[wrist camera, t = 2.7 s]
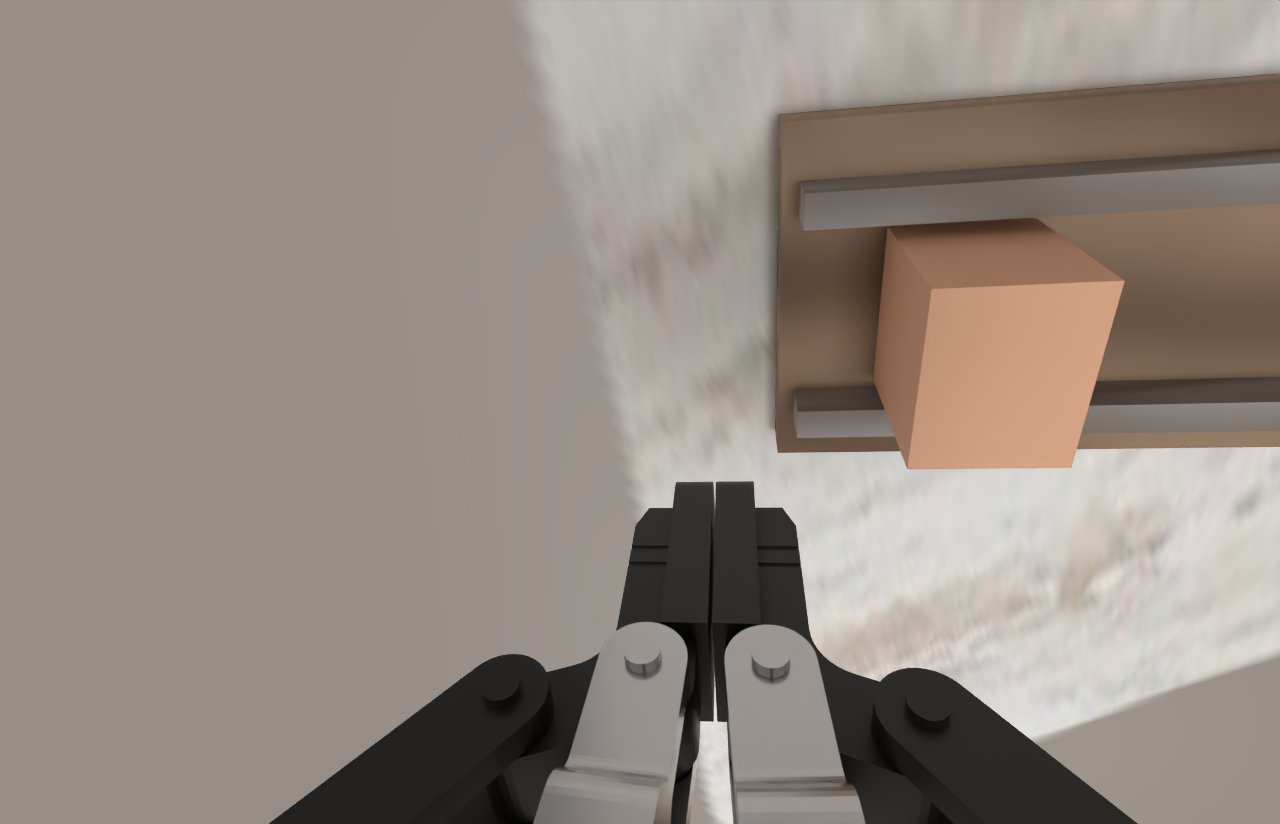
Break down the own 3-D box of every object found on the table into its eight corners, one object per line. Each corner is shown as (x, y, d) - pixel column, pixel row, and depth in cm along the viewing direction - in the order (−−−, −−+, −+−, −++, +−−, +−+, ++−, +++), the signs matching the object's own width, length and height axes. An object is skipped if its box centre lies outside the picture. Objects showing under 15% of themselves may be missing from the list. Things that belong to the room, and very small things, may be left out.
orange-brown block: (887, 226, 20) (931, 288, 15) (1036, 218, 19) (1125, 280, 15) (872, 378, 22) (907, 468, 18) (1003, 375, 22) (1071, 467, 17)
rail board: (779, 114, 20) (795, 149, 15) (1683, 41, 17) (2051, 56, 12) (775, 430, 26) (786, 526, 21) (1453, 418, 22) (1644, 529, 18)
